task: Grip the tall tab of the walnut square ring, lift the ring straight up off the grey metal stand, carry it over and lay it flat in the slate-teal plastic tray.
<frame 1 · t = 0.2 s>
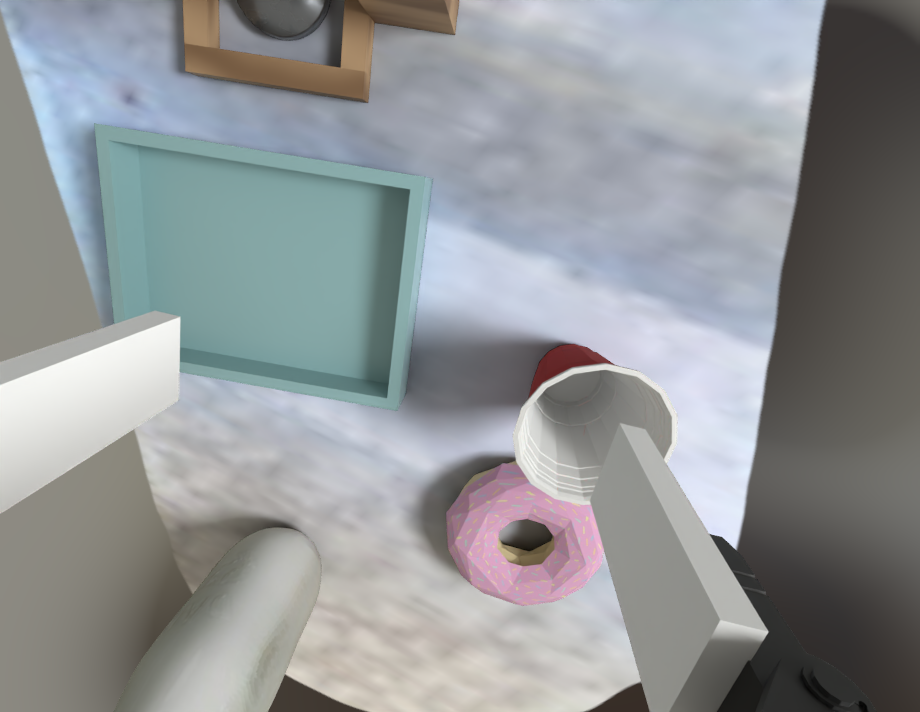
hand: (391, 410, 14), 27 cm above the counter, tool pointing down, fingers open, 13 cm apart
tray: (278, 270, 41), on the counter
donut: (524, 516, 48), on the counter
plastic cup: (570, 375, 42), on the counter
glass bottle: (291, 545, 51), on the counter
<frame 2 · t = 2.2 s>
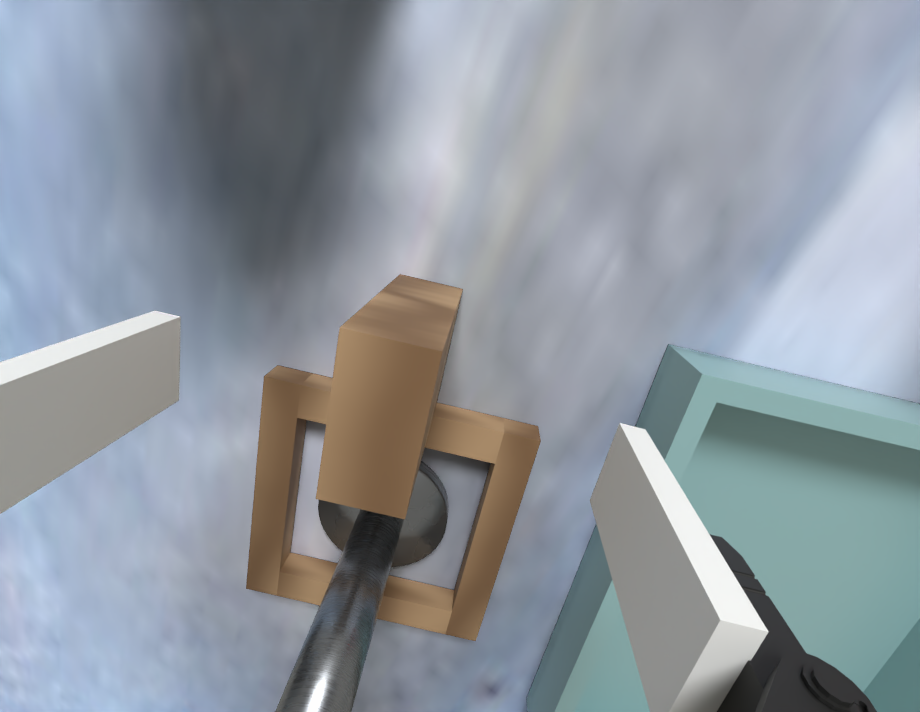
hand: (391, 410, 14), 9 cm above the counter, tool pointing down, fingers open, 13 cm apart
tray: (749, 588, 26), on the counter
grey metal stand: (386, 503, 26), on the counter
ring: (386, 503, 26), on the counter
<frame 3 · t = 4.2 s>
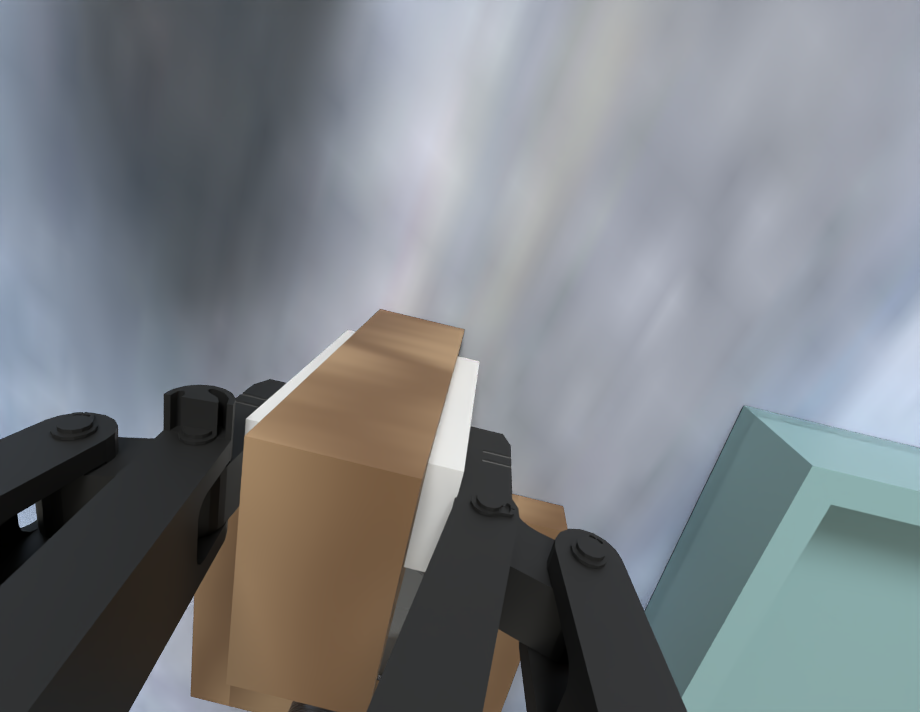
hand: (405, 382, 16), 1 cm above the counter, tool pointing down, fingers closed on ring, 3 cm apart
tray: (835, 710, 20), on the counter
grey metal stand: (366, 594, 20), on the counter
ring: (366, 594, 20), on the counter, touching gripper
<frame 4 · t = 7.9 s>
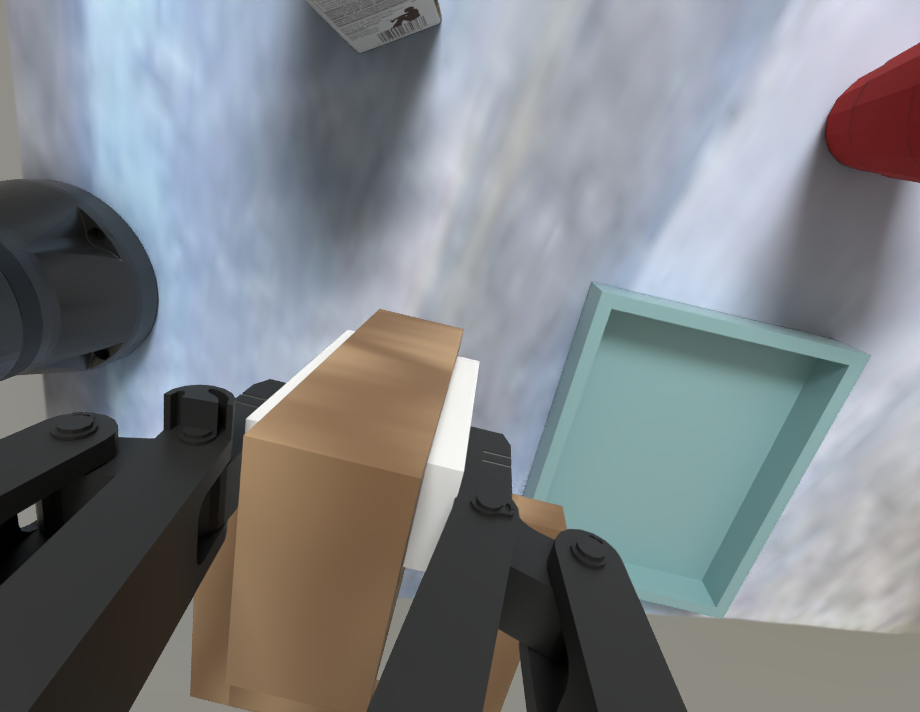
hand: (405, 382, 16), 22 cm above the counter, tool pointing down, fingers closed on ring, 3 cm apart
tray: (654, 449, 40), on the counter
plastic cup: (872, 119, 31), on the counter
ring: (365, 594, 20), point 21 cm above the counter, touching gripper
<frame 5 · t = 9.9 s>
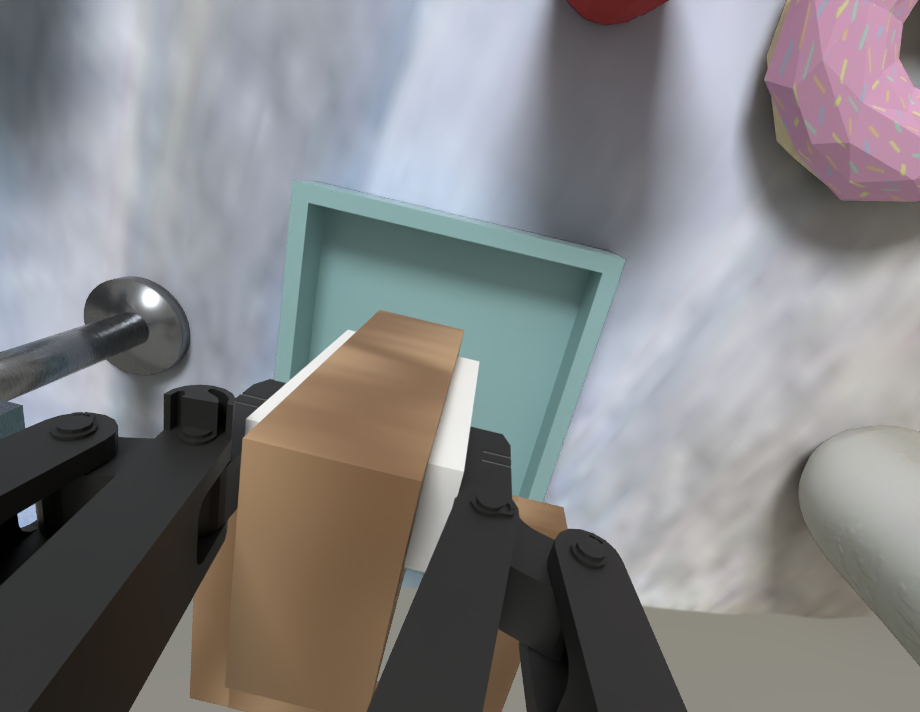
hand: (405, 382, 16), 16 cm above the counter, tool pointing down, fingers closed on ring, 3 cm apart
tray: (425, 392, 34), on the counter
grey metal stand: (142, 325, 34), on the counter
donut: (896, 53, 25), on the counter
glass bottle: (841, 464, 33), on the counter
ring: (365, 596, 20), point 15 cm above the counter, touching gripper
when the fingers open (4 cm above the counter, at t = 11.6 s): ring drops 2 cm, resting on tray.
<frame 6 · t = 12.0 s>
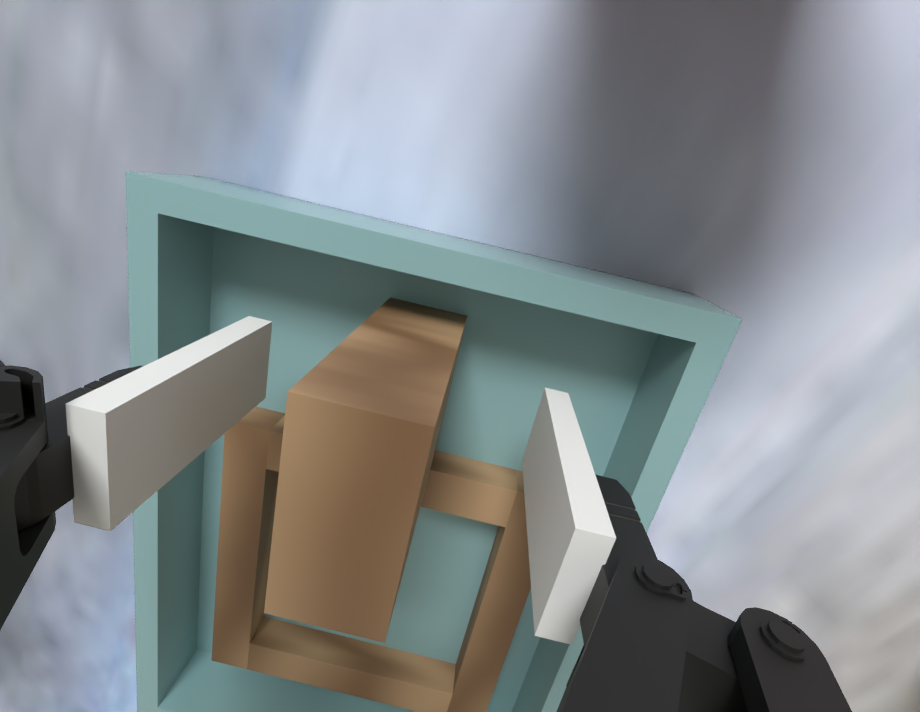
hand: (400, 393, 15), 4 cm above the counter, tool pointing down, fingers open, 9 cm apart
tray: (390, 503, 22), on the counter
ring: (375, 564, 22), point 1 cm above the counter, touching tray
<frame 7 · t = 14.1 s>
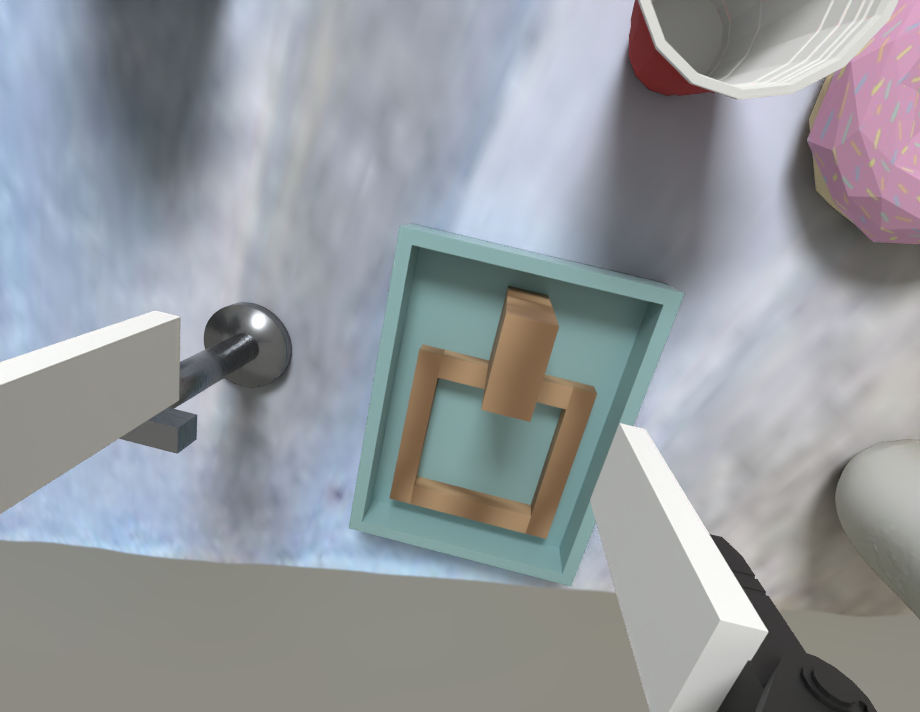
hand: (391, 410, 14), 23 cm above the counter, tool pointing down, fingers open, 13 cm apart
tray: (496, 404, 38), on the counter
grey metal stand: (251, 343, 39), on the counter
plastic cup: (678, 41, 29), on the counter
glass bottle: (874, 473, 37), on the counter
ring: (487, 440, 38), point 1 cm above the counter, touching tray
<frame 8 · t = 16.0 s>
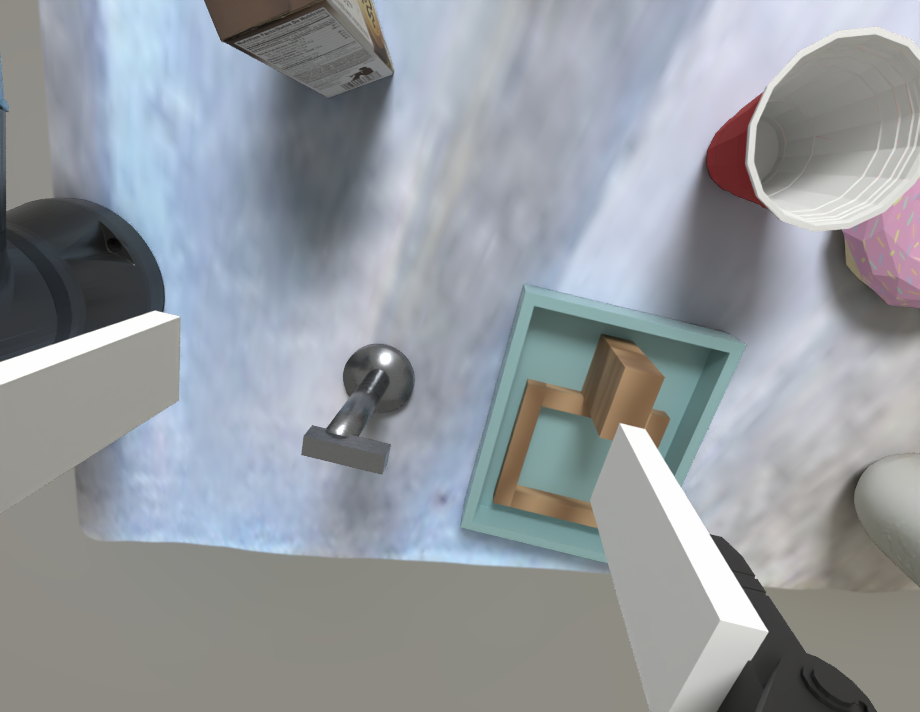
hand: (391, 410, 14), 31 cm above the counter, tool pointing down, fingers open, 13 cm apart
tray: (582, 426, 47), on the counter
grey metal stand: (380, 376, 47), on the counter
coffee box: (342, 28, 38), on the counter
plastic cup: (744, 152, 38), on the counter
glass bottle: (883, 479, 46), on the counter
ring: (574, 454, 47), point 1 cm above the counter, touching tray
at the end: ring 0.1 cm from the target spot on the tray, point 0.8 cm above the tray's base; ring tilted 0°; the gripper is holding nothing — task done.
